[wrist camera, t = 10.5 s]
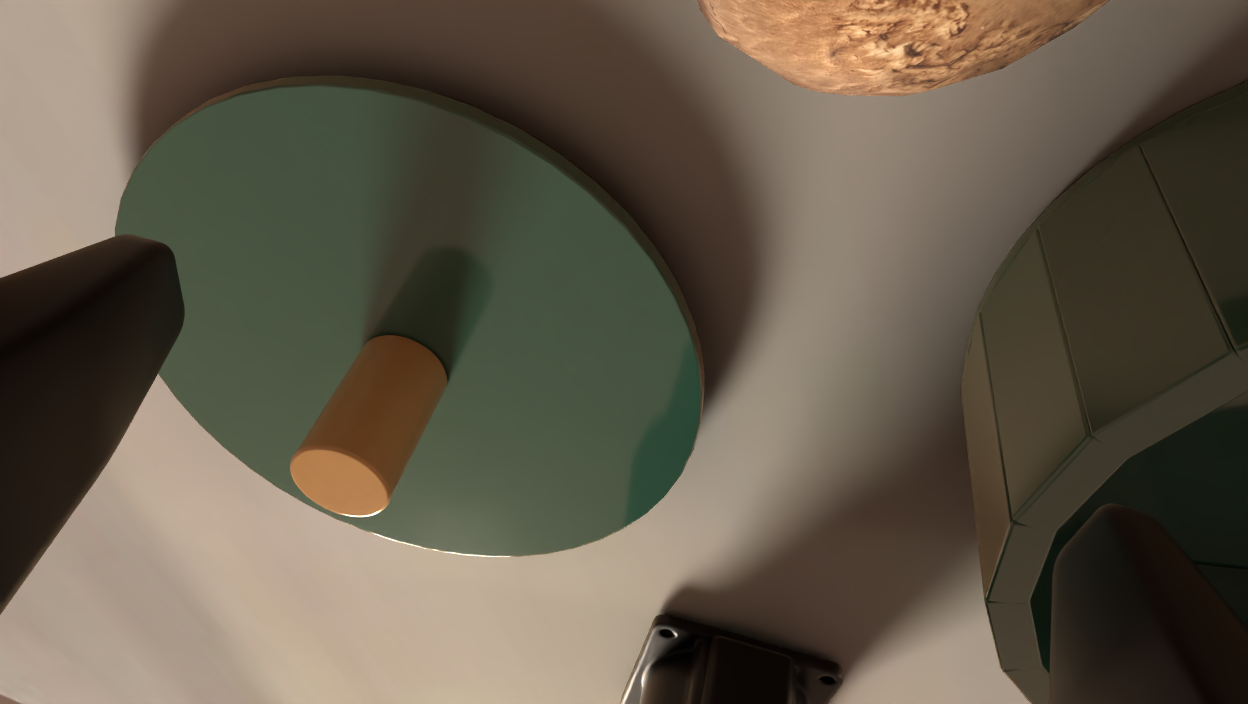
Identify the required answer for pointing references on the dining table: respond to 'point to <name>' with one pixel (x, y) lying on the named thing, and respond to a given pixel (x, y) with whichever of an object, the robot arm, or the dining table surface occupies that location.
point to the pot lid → (418, 316)
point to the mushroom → (890, 38)
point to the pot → (1116, 373)
